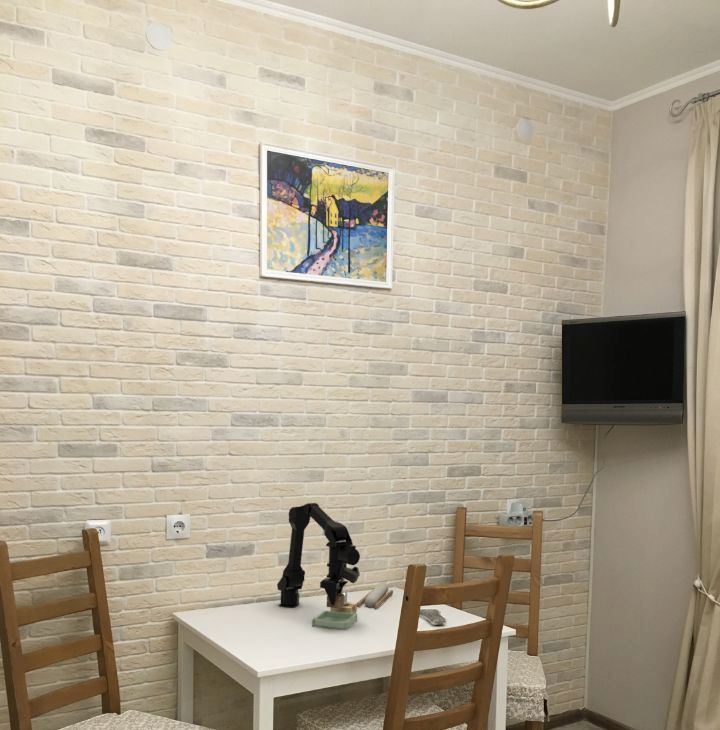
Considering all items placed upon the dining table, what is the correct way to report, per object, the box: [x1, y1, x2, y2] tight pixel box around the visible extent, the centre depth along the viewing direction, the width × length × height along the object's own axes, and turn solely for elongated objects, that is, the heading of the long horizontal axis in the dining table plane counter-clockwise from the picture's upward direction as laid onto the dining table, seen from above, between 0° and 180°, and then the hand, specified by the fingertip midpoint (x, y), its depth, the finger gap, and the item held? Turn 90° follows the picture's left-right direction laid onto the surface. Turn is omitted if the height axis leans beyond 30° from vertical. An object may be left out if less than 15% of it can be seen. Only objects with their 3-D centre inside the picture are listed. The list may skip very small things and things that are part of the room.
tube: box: [364, 581, 389, 608], centre depth 321 cm, size 5×5×25 cm
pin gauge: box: [341, 591, 348, 606], centre depth 300 cm, size 2×2×8 cm
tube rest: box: [356, 588, 394, 610], centre depth 321 cm, size 8×26×2 cm, turn 163°
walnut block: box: [326, 593, 344, 609], centre depth 287 cm, size 5×5×4 cm
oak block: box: [330, 601, 358, 614], centre depth 300 cm, size 8×8×4 cm
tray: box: [311, 609, 358, 631], centre depth 286 cm, size 13×13×2 cm
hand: (335, 603), depth 287 cm, fingers closed on walnut block, 5 cm apart
